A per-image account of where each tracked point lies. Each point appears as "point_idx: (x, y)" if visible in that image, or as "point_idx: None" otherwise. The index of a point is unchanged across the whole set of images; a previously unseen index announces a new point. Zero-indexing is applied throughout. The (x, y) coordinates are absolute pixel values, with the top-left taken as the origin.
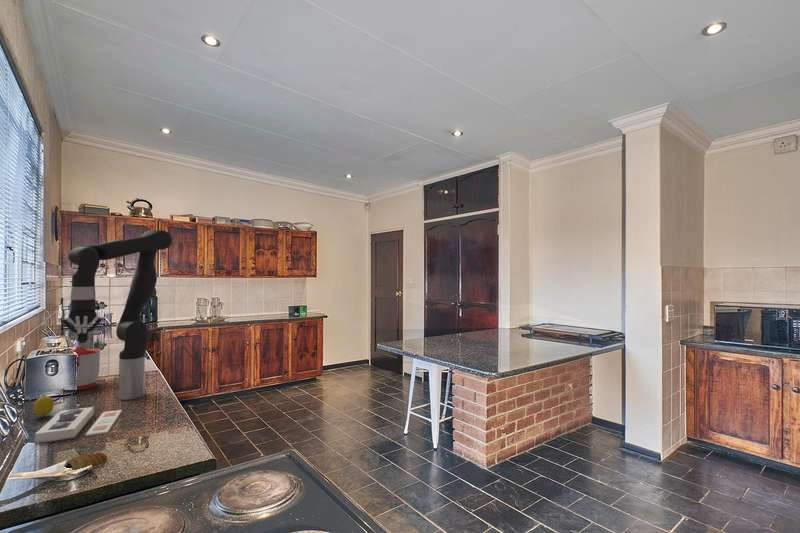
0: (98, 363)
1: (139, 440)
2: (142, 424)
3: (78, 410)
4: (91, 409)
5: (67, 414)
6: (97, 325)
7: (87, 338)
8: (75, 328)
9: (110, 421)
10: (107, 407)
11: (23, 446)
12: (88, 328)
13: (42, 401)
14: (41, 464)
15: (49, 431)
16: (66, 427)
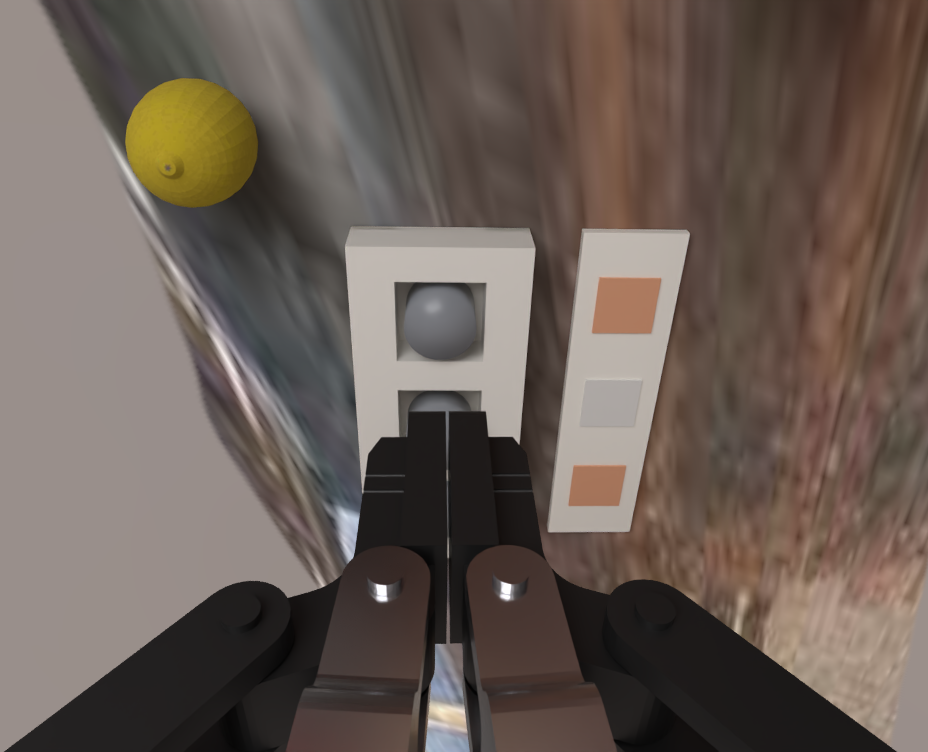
0: None
1: (736, 623)
2: (766, 482)
3: (466, 332)
4: (530, 301)
5: (446, 460)
6: (829, 729)
7: (524, 485)
8: (254, 702)
9: (634, 419)
10: (593, 80)
11: (339, 539)
12: (568, 646)
13: (193, 206)
14: None
15: None
16: None
